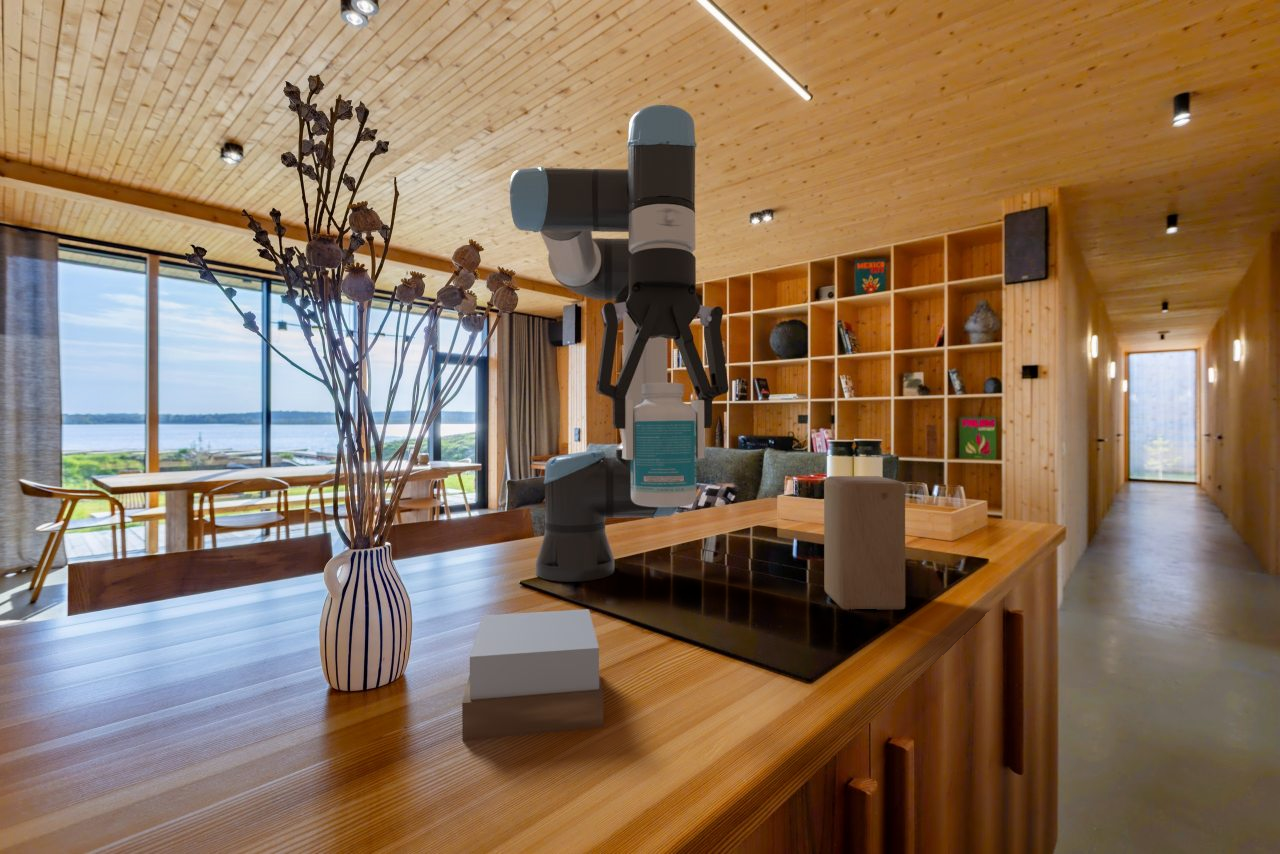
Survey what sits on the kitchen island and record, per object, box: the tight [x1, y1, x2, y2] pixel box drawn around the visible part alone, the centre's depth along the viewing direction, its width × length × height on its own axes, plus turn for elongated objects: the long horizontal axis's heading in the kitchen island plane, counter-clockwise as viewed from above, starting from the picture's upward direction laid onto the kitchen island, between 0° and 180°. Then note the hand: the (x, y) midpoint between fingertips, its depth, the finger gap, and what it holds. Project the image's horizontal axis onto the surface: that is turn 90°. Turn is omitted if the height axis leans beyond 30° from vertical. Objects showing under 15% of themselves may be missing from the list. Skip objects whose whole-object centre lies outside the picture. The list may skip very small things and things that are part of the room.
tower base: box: [461, 674, 605, 742], centre depth 61 cm, size 13×13×4 cm
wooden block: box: [823, 475, 906, 611], centre depth 94 cm, size 10×10×20 cm
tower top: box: [469, 608, 600, 700], centre depth 61 cm, size 12×12×4 cm
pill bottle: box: [631, 382, 698, 508], centre depth 66 cm, size 8×7×14 cm
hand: (662, 458), depth 66 cm, fingers closed on pill bottle, 7 cm apart
